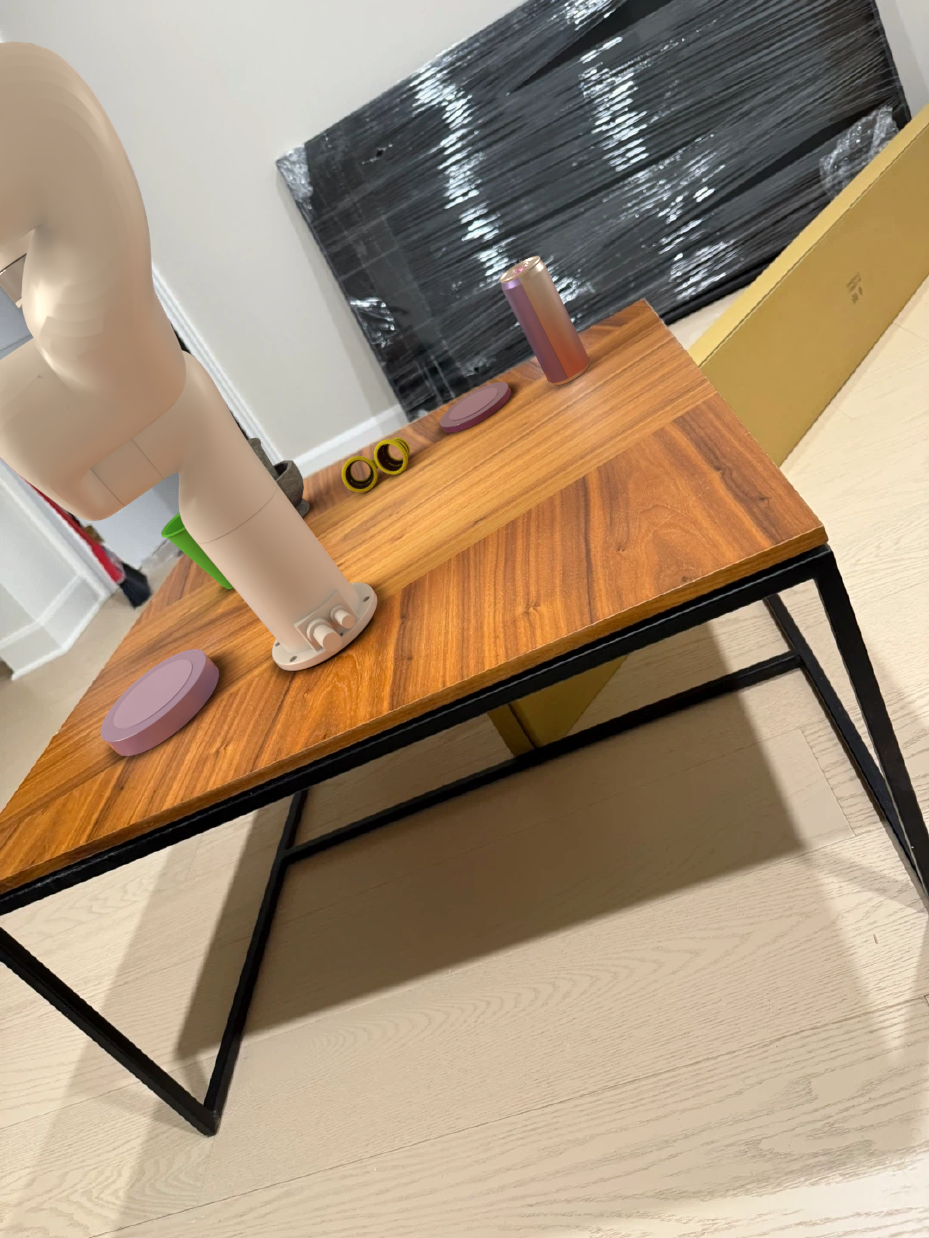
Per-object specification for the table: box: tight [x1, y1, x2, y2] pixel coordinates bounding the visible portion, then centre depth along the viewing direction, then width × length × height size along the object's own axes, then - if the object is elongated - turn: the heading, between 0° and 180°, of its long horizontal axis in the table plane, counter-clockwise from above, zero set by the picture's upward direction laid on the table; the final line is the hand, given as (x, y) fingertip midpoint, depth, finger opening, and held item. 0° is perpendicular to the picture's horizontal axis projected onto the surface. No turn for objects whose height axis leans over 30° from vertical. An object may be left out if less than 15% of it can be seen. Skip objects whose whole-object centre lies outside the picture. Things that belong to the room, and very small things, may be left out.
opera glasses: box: [341, 436, 411, 494], centre depth 115 cm, size 10×5×5 cm, turn 92°
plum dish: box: [439, 381, 512, 434], centre depth 118 cm, size 11×11×1 cm
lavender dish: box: [99, 648, 220, 757], centre depth 93 cm, size 14×14×2 cm
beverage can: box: [498, 255, 590, 386], centre depth 106 cm, size 6×6×15 cm
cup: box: [160, 511, 234, 590], centre depth 112 cm, size 9×9×11 cm
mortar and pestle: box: [246, 437, 310, 518], centre depth 121 cm, size 11×9×12 cm
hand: (158, 426), depth 94 cm, fingers closed
